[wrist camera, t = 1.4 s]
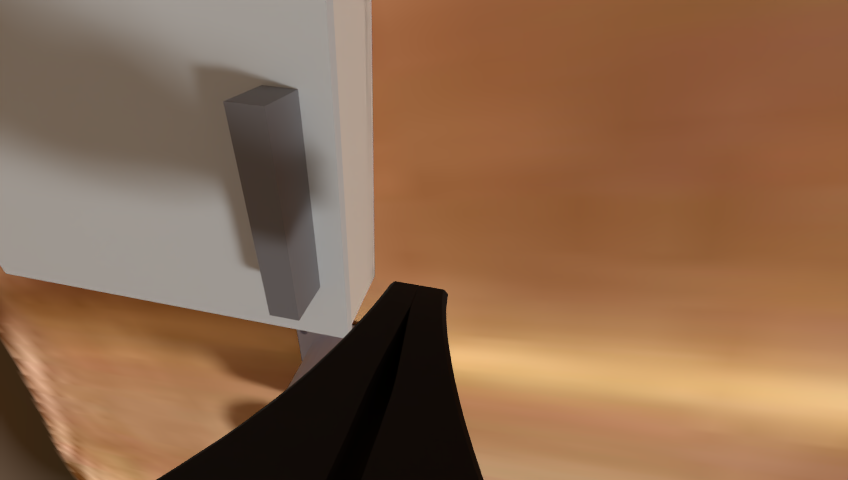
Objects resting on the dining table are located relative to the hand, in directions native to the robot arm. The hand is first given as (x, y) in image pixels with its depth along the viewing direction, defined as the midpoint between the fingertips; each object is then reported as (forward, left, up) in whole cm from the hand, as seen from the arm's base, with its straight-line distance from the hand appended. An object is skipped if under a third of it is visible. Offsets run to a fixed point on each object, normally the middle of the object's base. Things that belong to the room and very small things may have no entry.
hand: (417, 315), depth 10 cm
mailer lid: (0, +13, -5) cm, 14 cm away
